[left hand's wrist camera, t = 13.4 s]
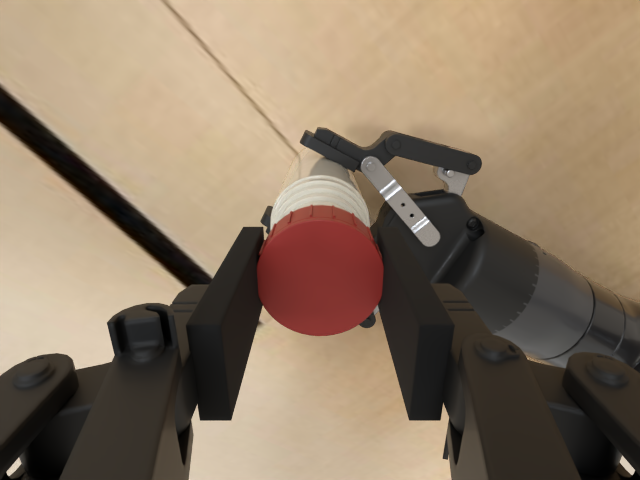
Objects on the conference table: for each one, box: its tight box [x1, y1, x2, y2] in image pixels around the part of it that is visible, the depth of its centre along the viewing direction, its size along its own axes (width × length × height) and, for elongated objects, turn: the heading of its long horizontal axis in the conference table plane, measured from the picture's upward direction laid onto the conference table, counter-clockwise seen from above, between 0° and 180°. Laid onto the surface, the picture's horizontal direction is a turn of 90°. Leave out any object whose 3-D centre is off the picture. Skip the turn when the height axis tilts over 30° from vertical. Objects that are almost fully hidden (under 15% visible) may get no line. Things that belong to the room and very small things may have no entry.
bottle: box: [270, 147, 370, 231], centre depth 22 cm, size 5×5×18 cm
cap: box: [257, 205, 384, 336], centre depth 14 cm, size 4×5×2 cm
